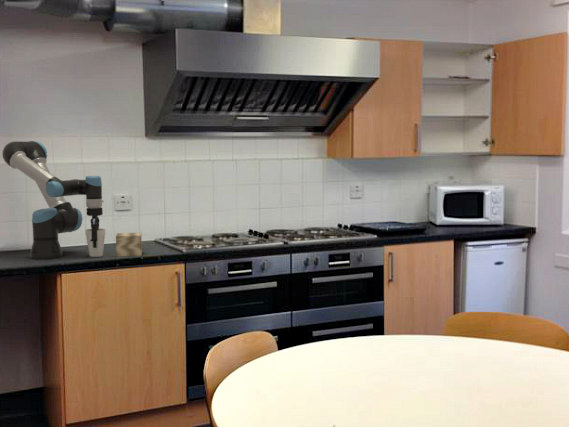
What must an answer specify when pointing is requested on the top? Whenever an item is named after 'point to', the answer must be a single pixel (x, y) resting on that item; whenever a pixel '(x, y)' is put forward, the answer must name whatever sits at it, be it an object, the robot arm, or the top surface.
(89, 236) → the foam cup
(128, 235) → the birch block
